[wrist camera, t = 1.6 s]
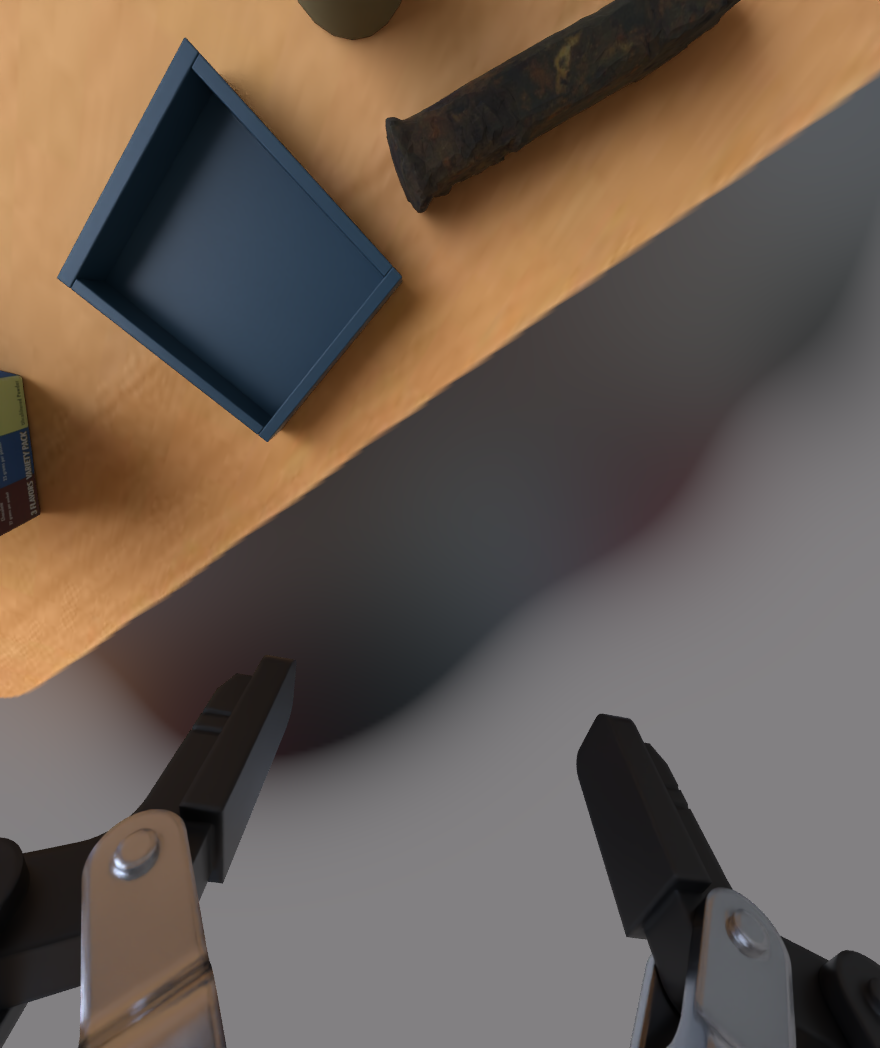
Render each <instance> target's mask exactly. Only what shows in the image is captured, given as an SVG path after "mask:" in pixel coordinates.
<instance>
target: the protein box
mask: <svg viewBox="0 0 880 1048" xmlns="http://www.w3.org/2000/svg"><path fill="white" fill-rule="evenodd" d="M38 515H40V508H39V502H38V495H37V488H36V480H35V473H34V464H33V457H32V449H31V442H30V434H29V427H28V420H27V412H26V405H25V398H24V390H23V383H22V378H21V376H19V375H16V374H12V373H8V372H4V371H0V536H1V535H3V534H5V533H7V532H9V531H11V530H12V529H14V528H16V527H18V526H20V525H22V524H24V523H25V522H27V521H29V520H31V519H33V518H35V517H37V516H38Z"/></svg>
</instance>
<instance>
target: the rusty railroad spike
mask: <svg viewBox="0 0 880 1048" xmlns="http://www.w3.org/2000/svg"><path fill="white" fill-rule="evenodd" d="M739 1H740V0H615V1H613V2H611V3H610V4H608V5H606V6H605V7H603V8H601V9H600V10H599V11H598V12H596V13H594V14H592V15H589V16H587V17H584V18H582V19H580V20H579V21H577V22H576V23H574V24H572V25H571V26H569V27H567V28H565V29H564V30H561V31H559V32H557V33H555V34H553V35H551V36H549V37H547V38H546V39H544V40H542V41H541V42H539V43H537V44H535V45H534V46H532V47H530V48H528V49H527V50H525V51H523V52H521V53H520V54H518V55H516V56H514V57H512V58H511V59H509V60H507V61H506V62H504V63H502V64H501V65H499V66H497V67H495V68H493V69H492V70H490V71H488V72H487V73H485V74H483V75H482V76H480V77H478V78H476V79H474V80H472V81H470V82H469V83H467V84H465V85H464V86H462V87H461V88H459V89H457V90H456V91H454V92H453V93H451V94H450V95H448V96H446V97H445V98H443V99H441V100H440V101H438V102H437V103H435V104H433V105H431V106H430V107H428V108H426V109H424V110H423V111H421V112H419V113H418V114H415V115H413V116H411V117H409V118H407V119H405V120H400V119H398V118H395V117H390V118H387V119H386V132H387V140H388V144H389V147H390V152H391V156H392V159H393V163H394V166H395V169H396V172H397V175H398V177H399V180H400V183H401V186H402V188H403V190H404V192H405V195H406V197H407V200H408V201H409V202H410V203H411V204H412V206H413V208H414V209H415V210H416V211H417V212H418V213H423V212H425V211H426V209H427V207H428V206H429V204H430V202H431V200H432V199H433V197H438V196H445V195H447V194H448V193H449V191H450V189H451V188H452V186H453V185H454V184H456V183H458V182H462V181H464V180H466V179H467V178H469V177H471V176H472V175H476V174H479V173H481V172H482V171H484V170H485V169H486V168H488V167H489V166H491V165H495V164H497V163H499V162H501V161H503V160H504V156H505V155H507V154H508V153H511V152H517V151H519V150H520V149H521V148H523V147H524V146H525V145H526V144H528V143H529V142H531V141H532V140H534V139H535V138H537V137H539V136H540V135H542V134H544V133H545V132H547V131H549V130H551V129H552V128H554V127H556V126H557V125H559V124H561V123H562V122H564V121H566V120H567V119H569V118H571V117H572V116H574V115H576V114H577V113H579V112H581V111H583V110H585V109H587V108H589V107H591V106H592V105H594V104H596V103H597V102H599V101H601V100H602V99H604V98H606V97H607V96H609V95H611V94H613V93H614V92H616V91H618V90H619V89H621V88H623V87H624V86H626V85H628V84H629V83H632V82H636V81H638V80H640V79H642V78H643V77H645V76H646V75H648V74H649V73H651V72H652V71H654V70H655V69H657V68H658V67H660V66H661V65H663V64H664V63H666V62H667V61H668V60H670V59H671V58H673V57H674V56H676V55H677V54H678V53H680V52H681V51H682V50H684V49H685V48H686V47H687V46H688V44H690V43H691V42H692V41H694V40H695V39H696V38H698V37H699V36H701V35H702V34H703V33H704V32H706V31H708V30H710V29H711V28H712V27H714V26H715V25H716V24H717V23H718V22H719V20H720V18H721V17H722V16H723V15H724V14H725V13H726V12H727V11H728V10H730V9H731V8H732V7H733V6H734V5H735V4H736V3H738V2H739Z"/></svg>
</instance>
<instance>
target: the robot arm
mask: <svg viewBox="0 0 880 1048" xmlns="http://www.w3.org/2000/svg"><path fill="white" fill-rule="evenodd" d="M295 673H296V660H293V659H287V658H281V657H275V656H270V655H265V656H264V657H263V659H262V660H261V662H260V664H259V665H258V667H257V669H256V671H255V672H254V674H253V676H250V675H243V674H238V673H237V674H235V675H234V676H233V677H232V678H230V679H229V680H228V681H226V682H225V683H224V684H223V685H221V686H220V687H219V688H217V690H216V691H215V693H214V694H213V696H212V698H211V699H210V701H209V702H208V704H207V705H206V707H205V709H204V711H203V713H201V714H200V716H199V718H198V719H197V721H196V722H195V724H194V725H193V728H192V730H190V731H189V733H188V734H187V736H186V738H185V739H184V741H183V742H182V744H181V745H180V747H179V748H178V750H177V751H176V753H175V755H174V757H173V758H172V759H171V761H170V762H169V764H168V765H167V767H166V769H165V770H164V772H163V773H162V775H161V776H160V778H159V779H158V781H157V782H156V784H155V785H154V787H153V789H152V790H151V792H150V793H149V795H148V796H147V798H146V799H145V800H144V802H143V803H142V804H141V805H140V807H139V808H138V809H137V810H136V811H135V812H134V813H133V814H132V815H131V816H129V817H128V818H126V819H124V820H123V821H121V822H119V823H118V824H116V825H115V826H114V827H113V828H111V829H110V830H109V831H107V832H105V833H104V834H101V835H99V836H97V837H94V838H92V839H89V840H85V841H81V842H77V843H72V844H67V845H62V846H57V847H53V848H48V849H43V850H38V851H33V852H28V853H22V851H21V849H20V847H19V845H17V844H16V843H15V842H14V841H12V840H9V839H6V838H0V1048H2V1046H3V1044H4V1043H5V1041H6V1039H7V1038H8V1036H9V1034H10V1033H11V1031H12V1029H13V1027H14V1026H15V1024H16V1022H17V1020H18V1019H19V1017H20V1015H21V1014H22V1012H23V1010H24V1008H25V1007H26V1005H27V1003H28V1002H30V1001H34V1000H37V999H40V998H43V997H47V996H49V995H53V994H56V993H59V992H62V991H66V990H69V989H72V988H76V987H78V986H81V1004H80V1005H81V1006H80V1040H79V1047H78V1048H226V1042H225V1036H224V1030H223V1025H222V1019H221V1013H220V1007H219V1002H218V996H217V990H216V986H215V981H214V975H213V971H212V967H211V964H210V961H209V958H208V952H207V947H206V941H205V935H204V930H203V924H202V918H201V912H200V907H199V900H200V898H201V896H202V893H203V891H204V889H205V886H206V884H207V882H216V883H223V882H224V879H225V877H226V874H227V872H228V870H229V867H230V865H231V862H232V860H233V857H234V855H235V852H236V850H237V847H238V845H239V842H240V840H241V838H242V835H243V833H244V830H245V828H246V825H247V823H248V820H249V818H250V815H251V813H252V810H253V808H254V805H255V803H256V800H257V798H258V796H259V793H260V791H261V788H262V786H263V783H264V781H265V778H266V776H267V774H268V771H269V769H270V766H271V763H272V761H273V759H274V756H275V754H276V751H277V749H278V746H279V744H280V741H281V739H282V736H283V734H284V731H285V729H286V726H287V724H288V720H289V717H290V713H291V709H292V704H293V695H294V684H295ZM576 765H577V774H578V778H579V781H580V785H581V788H582V791H583V795H584V798H585V801H586V805H587V808H588V811H589V814H590V818H591V821H592V825H593V828H594V831H595V834H596V838H597V841H598V844H599V848H600V851H601V854H602V857H603V861H604V864H605V867H606V871H607V874H608V877H609V881H610V884H611V887H612V890H613V894H614V897H615V900H616V904H617V907H618V910H619V914H620V917H621V920H622V924H623V927H624V930H625V934H626V937H632V938H639V939H647V940H648V943H649V946H650V949H651V952H652V954H651V955H650V957H649V959H648V961H647V964H646V969H645V974H644V979H643V984H642V989H641V993H640V998H639V1003H638V1008H637V1014H636V1018H635V1023H634V1028H633V1033H632V1038H631V1043H630V1048H880V965H878V964H877V963H876V962H874V961H873V960H871V959H870V958H868V957H866V956H864V955H862V954H860V953H858V952H854V951H849V950H845V951H842V952H840V953H839V954H838V955H836V956H835V957H834V958H832V959H831V960H830V961H828V960H827V959H824V958H823V957H821V956H819V955H817V954H815V953H813V952H811V951H809V950H807V949H805V948H803V947H801V946H799V945H797V944H795V943H793V942H791V941H789V940H788V939H785V938H783V937H782V936H780V935H779V933H778V932H777V930H776V929H775V927H774V926H773V924H772V923H771V922H770V920H769V919H768V918H767V917H766V916H765V914H764V913H763V912H762V911H761V910H760V909H759V908H758V907H757V906H756V905H755V904H754V903H752V902H751V901H750V900H749V899H747V898H746V897H744V896H743V895H741V894H740V893H738V892H736V891H734V890H733V889H732V888H731V886H730V884H729V882H728V881H727V879H726V877H725V875H724V873H723V871H722V869H721V867H720V865H719V863H718V861H717V859H716V857H715V855H714V854H713V852H712V850H711V848H710V846H709V844H708V842H707V840H706V838H705V836H704V834H703V832H702V830H701V829H700V827H699V825H698V823H697V821H696V819H695V817H694V815H693V813H692V811H691V810H690V809H688V804H687V802H686V800H685V798H684V796H683V794H682V792H681V790H679V789H678V784H677V782H676V780H675V778H674V777H673V775H672V773H671V771H670V769H669V767H668V765H667V763H666V762H665V761H664V760H663V759H662V758H661V756H660V755H659V754H658V753H657V752H656V750H655V749H654V748H653V747H652V746H651V745H650V744H649V743H644V742H643V740H642V738H641V736H640V734H639V732H638V730H637V728H636V726H635V724H634V723H633V721H632V720H631V719H628V718H623V717H618V716H612V715H607V714H599V715H598V716H597V717H596V719H595V720H594V722H593V724H592V726H591V728H590V730H589V732H588V734H587V735H586V737H585V739H584V741H583V743H582V745H581V747H580V749H579V751H578V754H577V764H576Z"/></svg>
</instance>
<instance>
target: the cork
mask: <svg viewBox="0 0 880 1048" xmlns="http://www.w3.org/2000/svg"><path fill="white" fill-rule="evenodd" d="M298 2H299V3H300V5H301V6H302V7H303V8H304V10H305V11H306V12H307V13H308V15H309V16H310V17H311V18H312V20H313V21H314V22H315V23H316V24H318V25H319V26H321V27H322V28H323V29H325V30H326V31H328V32H329V33H331V34H332V35H334V36H339V37H343V38H347V39H351V40H354V39H358V38H363V37H368V36H371V35H373V34H374V33H375V32H377V31H378V30H379V29H381V28H382V27H383V26H385V25H386V24H387V23H388V22H389V20H390V19H391V17H392V15H393V14H394V12H395V11H396V9H397V8H398V6H399V5H400V2H401V0H298Z"/></svg>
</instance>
